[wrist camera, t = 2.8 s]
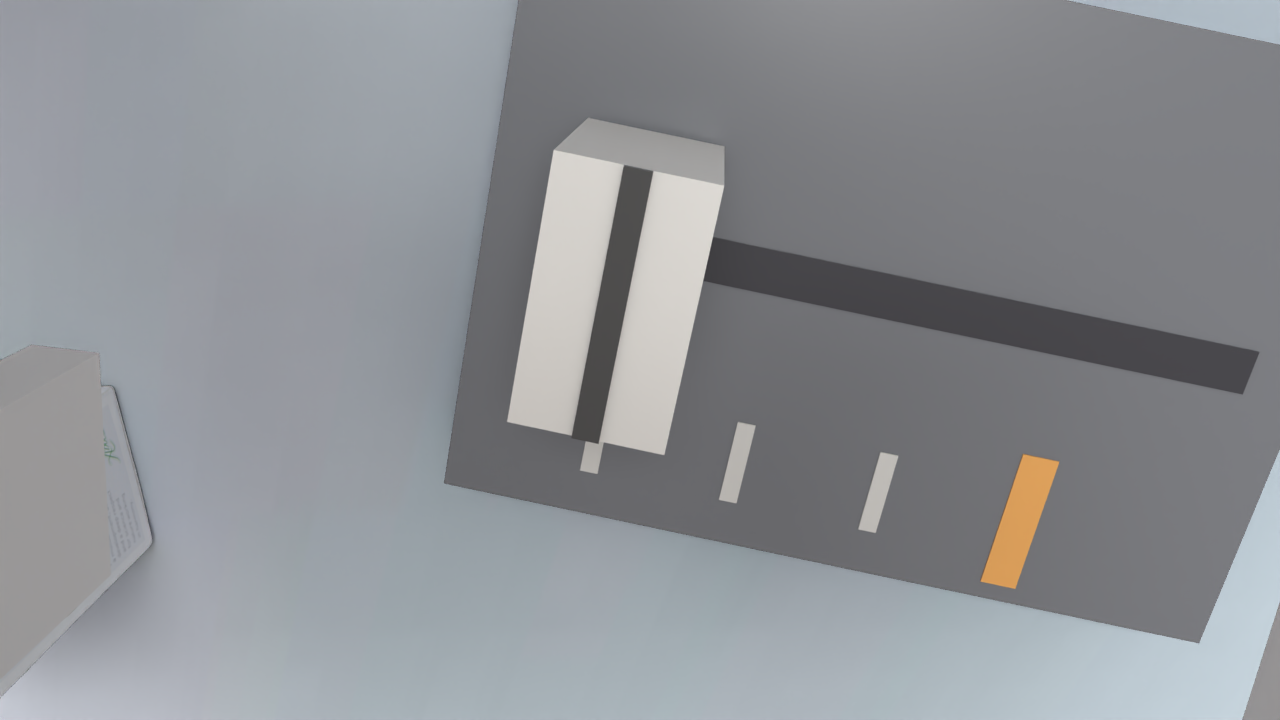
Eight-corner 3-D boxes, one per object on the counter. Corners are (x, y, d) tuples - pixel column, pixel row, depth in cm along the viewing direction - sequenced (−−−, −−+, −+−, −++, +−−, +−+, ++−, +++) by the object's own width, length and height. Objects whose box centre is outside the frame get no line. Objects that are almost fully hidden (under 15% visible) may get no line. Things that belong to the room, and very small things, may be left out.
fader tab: (547, 340, 30) (506, 424, 24) (587, 117, 28) (552, 150, 22) (675, 367, 30) (664, 458, 24) (724, 146, 28) (724, 186, 22)
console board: (466, 443, 35) (443, 483, 32) (553, -101, 30) (535, -111, 27) (1160, 589, 35) (1199, 644, 32) (1366, 68, 30) (1435, 77, 27)
